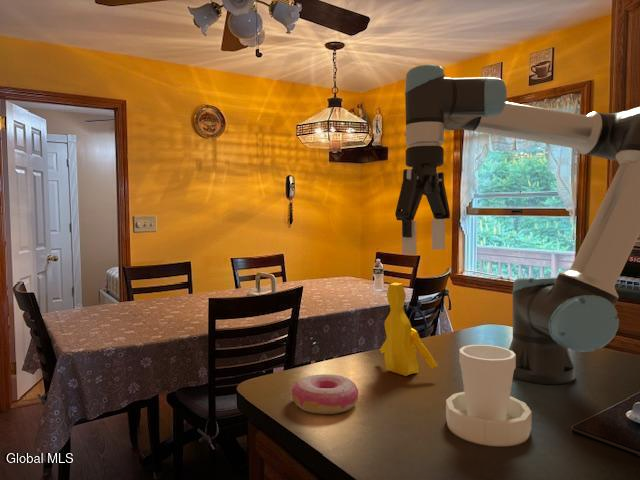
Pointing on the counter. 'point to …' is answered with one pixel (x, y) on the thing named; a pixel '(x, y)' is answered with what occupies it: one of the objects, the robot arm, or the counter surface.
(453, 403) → the dish
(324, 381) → the donut
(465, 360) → the foam cup
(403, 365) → the figure statuette
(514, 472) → the counter surface
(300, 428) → the counter surface
